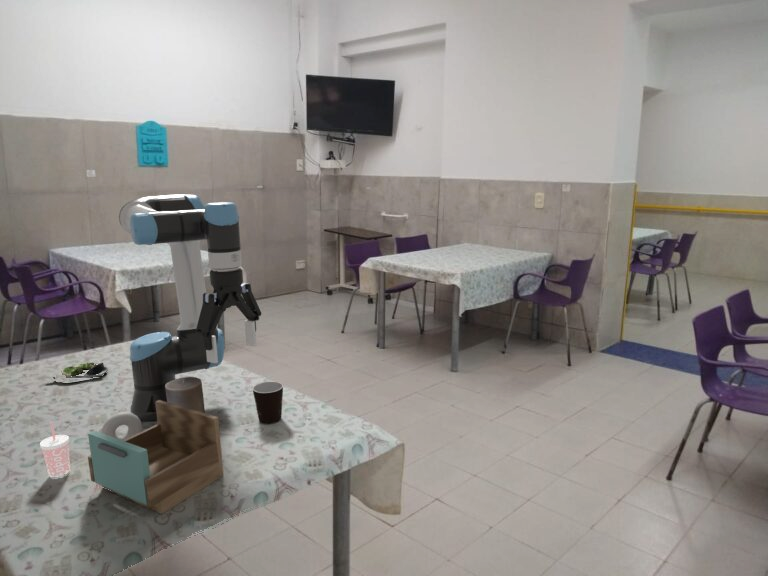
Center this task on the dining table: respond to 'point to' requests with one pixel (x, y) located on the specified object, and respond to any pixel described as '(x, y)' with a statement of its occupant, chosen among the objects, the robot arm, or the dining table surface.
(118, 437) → the donut
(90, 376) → the salad plate
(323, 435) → the dining table surface
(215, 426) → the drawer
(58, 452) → the beverage cup
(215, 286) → the robot arm
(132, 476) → the panel
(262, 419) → the coffee mug
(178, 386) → the pillar candle
